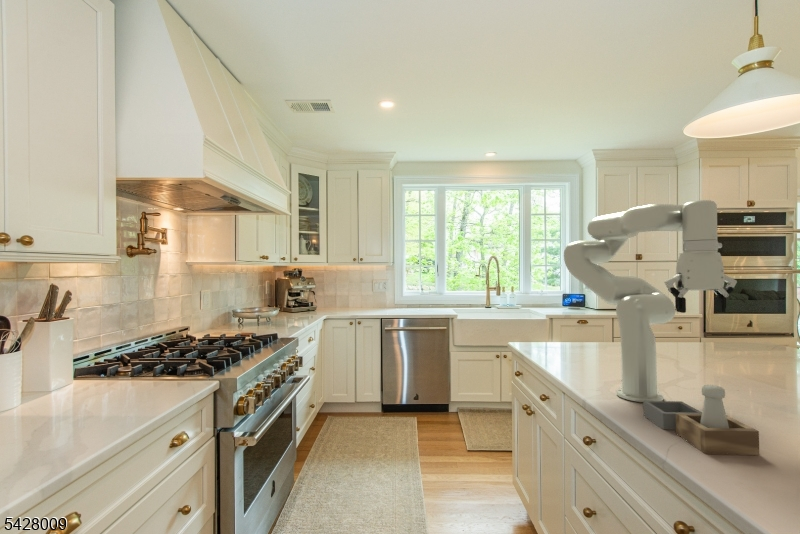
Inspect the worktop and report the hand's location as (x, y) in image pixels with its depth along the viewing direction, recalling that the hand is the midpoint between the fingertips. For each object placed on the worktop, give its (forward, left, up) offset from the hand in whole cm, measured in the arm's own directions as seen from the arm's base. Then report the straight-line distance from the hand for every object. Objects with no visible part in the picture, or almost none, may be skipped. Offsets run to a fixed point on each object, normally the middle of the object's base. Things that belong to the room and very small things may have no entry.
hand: (700, 312), depth 110 cm
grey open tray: (+4, -10, -28) cm, 30 cm away
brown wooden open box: (+17, -8, -28) cm, 34 cm away
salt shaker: (+17, -8, -28) cm, 34 cm away
